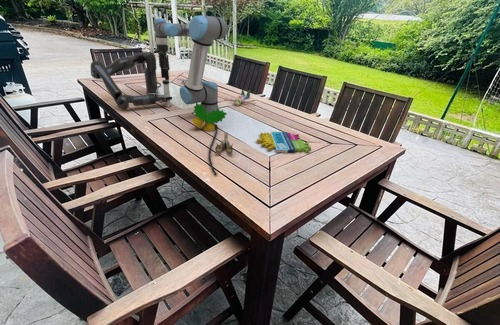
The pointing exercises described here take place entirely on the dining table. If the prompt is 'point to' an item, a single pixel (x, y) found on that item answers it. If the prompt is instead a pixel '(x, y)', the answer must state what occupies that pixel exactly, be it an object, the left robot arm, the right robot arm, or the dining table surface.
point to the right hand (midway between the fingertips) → (165, 78)
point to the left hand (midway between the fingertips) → (170, 97)
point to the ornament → (207, 117)
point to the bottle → (166, 94)
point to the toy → (241, 99)
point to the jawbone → (224, 145)
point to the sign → (283, 142)
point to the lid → (165, 81)
